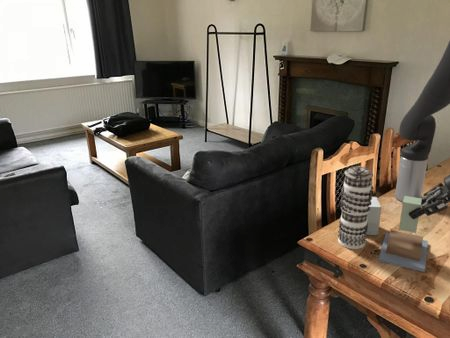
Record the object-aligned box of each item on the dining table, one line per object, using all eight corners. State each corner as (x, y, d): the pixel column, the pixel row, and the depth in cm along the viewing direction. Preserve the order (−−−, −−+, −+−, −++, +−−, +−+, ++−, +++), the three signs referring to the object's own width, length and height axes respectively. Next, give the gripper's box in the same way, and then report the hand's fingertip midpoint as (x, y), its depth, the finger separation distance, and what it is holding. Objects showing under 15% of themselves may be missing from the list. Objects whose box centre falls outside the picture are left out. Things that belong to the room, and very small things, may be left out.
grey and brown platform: (385, 234, 119) (387, 224, 118) (427, 243, 114) (429, 232, 112) (378, 260, 106) (380, 249, 105) (424, 272, 101) (427, 260, 99)
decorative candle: (373, 243, 115) (382, 169, 106) (353, 253, 110) (361, 177, 101) (350, 231, 122) (357, 161, 113) (330, 239, 118) (336, 168, 109)
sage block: (400, 222, 110) (404, 195, 107) (416, 226, 108) (421, 198, 104) (398, 229, 106) (403, 201, 103) (415, 233, 104) (420, 204, 101)
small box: (378, 236, 119) (381, 207, 115) (360, 234, 120) (363, 206, 116) (373, 223, 126) (377, 196, 122) (356, 222, 127) (359, 195, 123)
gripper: (458, 161, 101) (404, 193, 111) (460, 179, 90) (399, 213, 100) (477, 182, 100) (421, 212, 110) (481, 202, 89) (418, 234, 99)
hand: (411, 212), depth 105 cm, fingers closed on sage block, 4 cm apart
